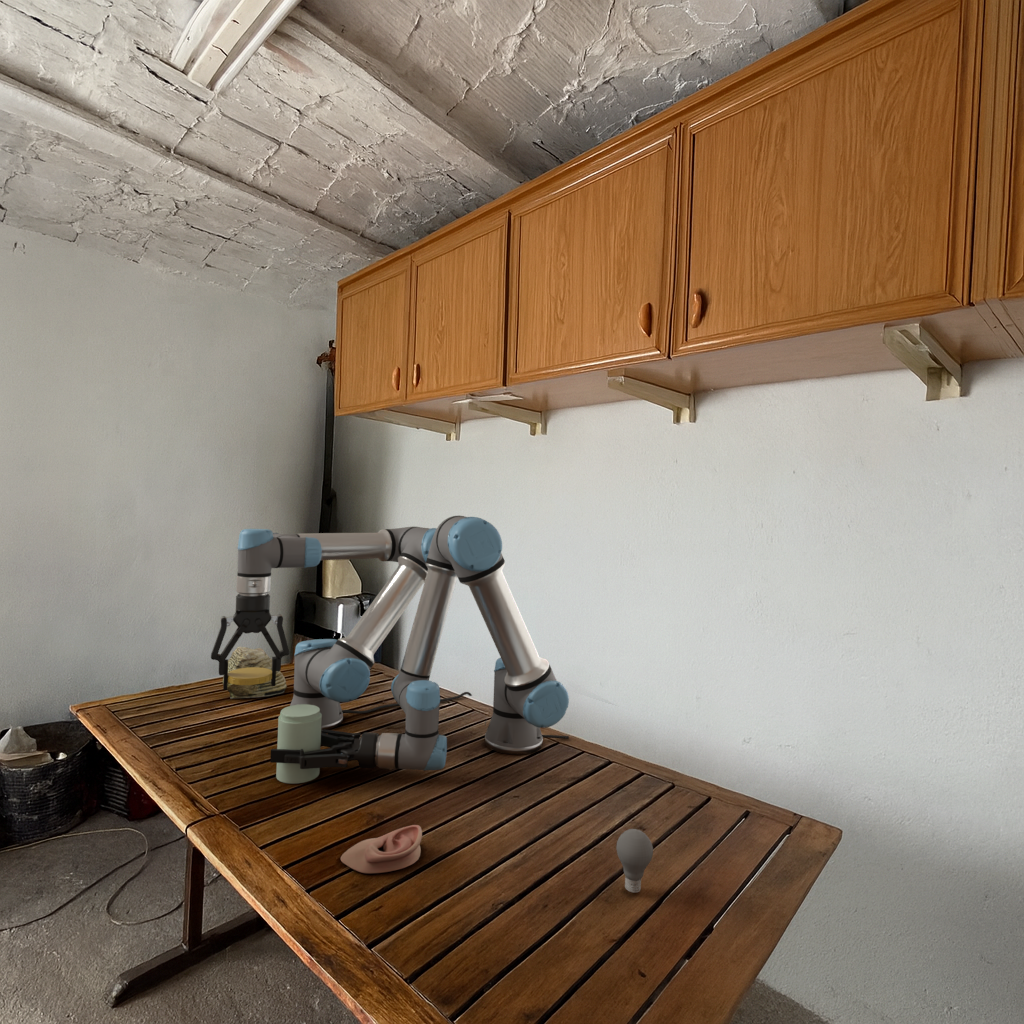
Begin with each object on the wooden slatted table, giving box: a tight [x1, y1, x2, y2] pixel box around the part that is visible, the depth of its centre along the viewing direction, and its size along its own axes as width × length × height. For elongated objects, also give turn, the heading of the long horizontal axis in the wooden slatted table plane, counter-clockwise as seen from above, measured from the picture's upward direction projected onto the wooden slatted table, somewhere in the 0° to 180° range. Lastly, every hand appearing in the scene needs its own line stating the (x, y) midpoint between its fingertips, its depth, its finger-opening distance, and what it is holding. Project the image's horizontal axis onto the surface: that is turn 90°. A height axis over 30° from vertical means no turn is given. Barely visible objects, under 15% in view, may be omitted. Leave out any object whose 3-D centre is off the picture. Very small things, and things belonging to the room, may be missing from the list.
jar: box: [275, 704, 322, 785], centre depth 144 cm, size 9×9×15 cm
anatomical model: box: [340, 824, 423, 874], centre depth 112 cm, size 13×4×12 cm
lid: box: [227, 667, 272, 685], centre depth 151 cm, size 10×10×2 cm
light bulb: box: [615, 828, 654, 894], centre depth 106 cm, size 6×6×10 cm
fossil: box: [222, 646, 288, 699], centre depth 198 cm, size 9×18×15 cm, turn 132°
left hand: (249, 686), depth 151 cm, fingers closed on lid, 10 cm apart
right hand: (279, 746), depth 144 cm, fingers closed on jar, 9 cm apart
